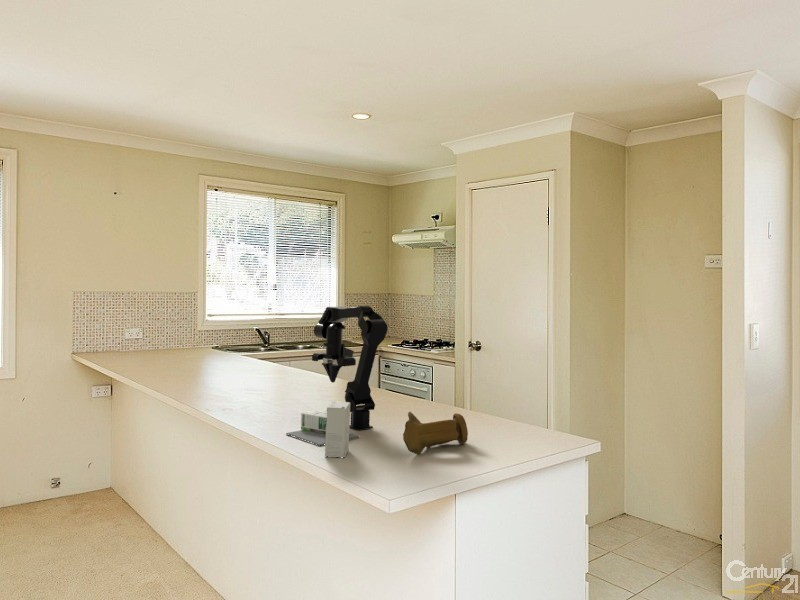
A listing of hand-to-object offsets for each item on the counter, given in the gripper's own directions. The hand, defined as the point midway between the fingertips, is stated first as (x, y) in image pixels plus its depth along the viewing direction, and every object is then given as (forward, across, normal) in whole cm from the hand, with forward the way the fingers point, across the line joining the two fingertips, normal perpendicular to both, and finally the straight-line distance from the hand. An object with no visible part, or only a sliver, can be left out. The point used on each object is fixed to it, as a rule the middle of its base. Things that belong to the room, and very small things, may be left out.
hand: (332, 382), depth 219 cm
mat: (+13, -18, +20) cm, 30 cm away
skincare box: (+13, -37, +30) cm, 49 cm away
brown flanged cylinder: (+13, -52, +4) cm, 54 cm away
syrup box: (+10, -8, +18) cm, 22 cm away
